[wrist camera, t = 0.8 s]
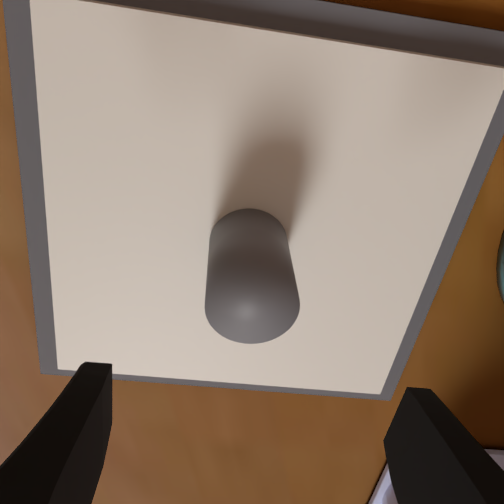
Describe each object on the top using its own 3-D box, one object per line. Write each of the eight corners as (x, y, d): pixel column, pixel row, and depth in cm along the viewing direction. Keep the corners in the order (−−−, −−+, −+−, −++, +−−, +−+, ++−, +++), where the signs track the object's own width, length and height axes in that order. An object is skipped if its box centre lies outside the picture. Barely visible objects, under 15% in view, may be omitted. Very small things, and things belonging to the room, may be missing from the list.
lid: (376, 385, 24) (405, 469, 20) (61, 359, 22) (25, 446, 18) (503, 66, 16) (590, 100, 12) (36, -9, 14) (-37, 3, 11)
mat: (387, 393, 25) (390, 400, 24) (44, 365, 23) (40, 373, 22) (535, 36, 16) (543, 38, 16) (4, -54, 14) (-3, -54, 14)
